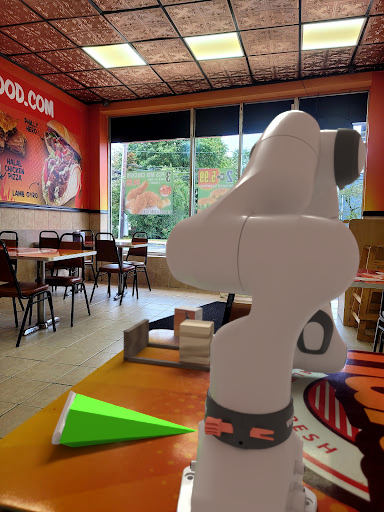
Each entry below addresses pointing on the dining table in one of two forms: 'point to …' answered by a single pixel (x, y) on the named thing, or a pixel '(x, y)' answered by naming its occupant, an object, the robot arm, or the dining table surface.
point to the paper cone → (106, 423)
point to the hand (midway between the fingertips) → (224, 344)
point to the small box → (185, 316)
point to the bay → (139, 339)
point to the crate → (195, 341)
